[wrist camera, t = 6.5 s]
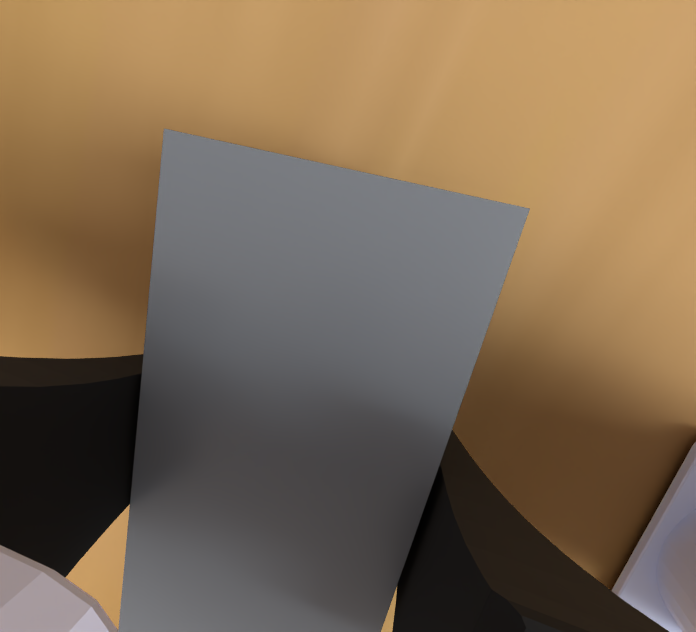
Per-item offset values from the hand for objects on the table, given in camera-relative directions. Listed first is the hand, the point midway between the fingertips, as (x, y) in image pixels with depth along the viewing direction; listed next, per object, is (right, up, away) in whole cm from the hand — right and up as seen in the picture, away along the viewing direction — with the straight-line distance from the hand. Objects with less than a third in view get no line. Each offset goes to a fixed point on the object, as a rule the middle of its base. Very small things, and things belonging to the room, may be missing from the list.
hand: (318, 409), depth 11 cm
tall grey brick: (0, 0, +2) cm, 2 cm away
